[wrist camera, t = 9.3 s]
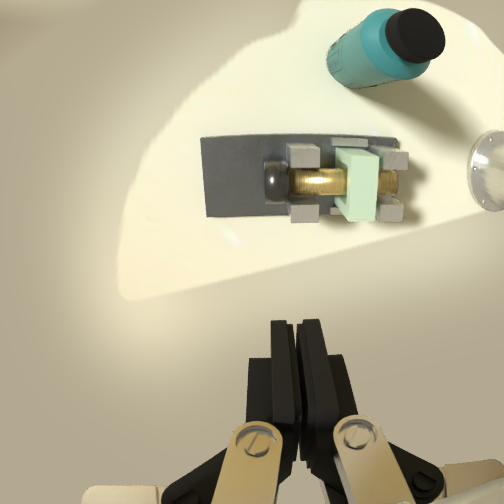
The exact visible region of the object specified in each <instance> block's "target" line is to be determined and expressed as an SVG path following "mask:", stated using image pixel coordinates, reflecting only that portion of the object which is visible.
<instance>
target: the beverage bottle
mask: <svg viewBox="0 0 504 504" xmlns="http://www.w3.org/2000/svg"><path fill="white" fill-rule="evenodd" d="M357 24H358V23H357ZM349 30H350V29H349ZM347 32H348V31H347ZM345 34H346V33H345ZM345 34H344V35H345ZM344 35H343V36H342V37H340V38H339V39H340V40H338V42H337V41H336V42H337V43H336V42H334V44H333V45H332V46H330V48H331V49H330V48H329V49H330V50H328V51H329V52H328V53H327V54H328V55H326V56H327V59H326V60H327V63H326V64H327V65H328V69H329V70H328V71H330V72H329V73H331V75H332V76H333V77H334V78H335V79H336V80H337V81H338V82H339V83H341V84H342V85H344V86H347V87H349V88H350V87H351V88H353V89H354V88H355V89H356V88H359V89H360V88H361V87H362V89H363V87H366V86H370V87H372V85H374V86H377V84H382V83H387V82H391V81H397V80H409V79H413V78H416V77H418V76H420V75H421V74H422V73H424V72H425V70H426V69H427V68H428V66H429V63H430V60H432V59H435V58H437V57H438V56H439V55H440V54H441V53H442V52H443V50H444V47H445V35H444V31H443V29H442V27H441V25H440V24H439V22H438V21H437V20H436V19H435V18H434V17H433V16H432V15H431V14H429V13H428V12H426V11H424V10H421V9H416V8H410V9H406V10H403V11H399V10H395V9H380V10H377V11H375V12H373V13H371V14H370V15H368V16H367V17H366V19H365V20H363V21H362V22H361V23H360V24H358V25H357V26H356V27H354V28H353V29H352V30H350V31H349V32H348V33H347V34H346V35H345V36H344ZM374 86H373V87H374ZM351 88H350V89H351Z"/></svg>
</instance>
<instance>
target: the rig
mask: <svg viewBox="0 0 504 504" xmlns="http://www.w3.org/2000/svg"><path fill="white" fill-rule="evenodd" d="M200 141H201V155H202V168H203V180H204V192H205V204H206V215H207V217H226V216H255V215H289V218H290V221H291V223H319V214H330V215H343V214H342V212H341V211H340V210H339V208H338V207H337V206H336V204H335V203H334V195H289V202H288V204H265V190H264V161H266V160H287V162H288V168H335V158H336V147H350V148H361V149H363V150H365V151H368V152H370V153H372V154H374V155H377V156H379V169H381V170H394V171H395V170H408V156H409V153H408V152H406V151H403V150H400V149H397V148H396V138H393V137H381V136H366V135H346V134H248V135H228V136H212V137H201V138H200ZM403 213H404V204H402V203H401V202H400V201H398V200H397V199H396V198H394V197H393V196H387V195H377V201H376V213H375V218H376V219H377V220H378V221H379V222H402V221H403Z"/></svg>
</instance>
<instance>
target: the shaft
mask: <svg viewBox="0 0 504 504" xmlns="http://www.w3.org/2000/svg"><path fill="white" fill-rule="evenodd" d="M347 176H348V168H288V162H287V160H266V161H264V190H265V204H288V202H289V195H347ZM397 189H398V177H397V174H396V172H395V171H394V170H381V169H379V172H378V188H377V195H387V196H394V195H395V194H396V193H397Z"/></svg>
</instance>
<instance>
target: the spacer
mask: <svg viewBox="0 0 504 504" xmlns="http://www.w3.org/2000/svg"><path fill="white" fill-rule="evenodd" d="M335 168H348V176H347V195H334V203H335V204H336V206H337V207H338V208H339V210H340V211H341V212H342V214H343V215H344V216H345V218H346V219H347V220H348V222H361V221H375V213H376V201H377V188H378V172H379V156H377V155H374V154H372V153H370V152H368V151H365V150H363V149H361V148H350V147H336V158H335Z"/></svg>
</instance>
